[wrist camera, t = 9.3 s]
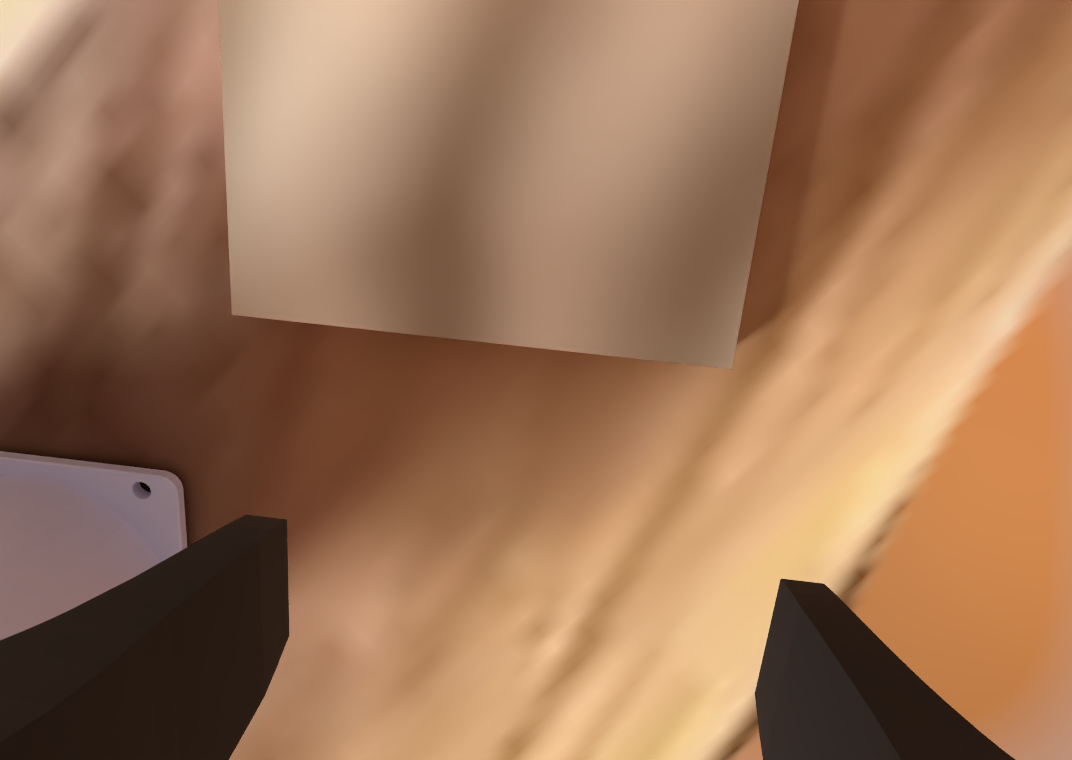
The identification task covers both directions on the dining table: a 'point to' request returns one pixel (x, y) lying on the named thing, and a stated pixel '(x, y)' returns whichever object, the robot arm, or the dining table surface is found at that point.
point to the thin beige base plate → (503, 167)
